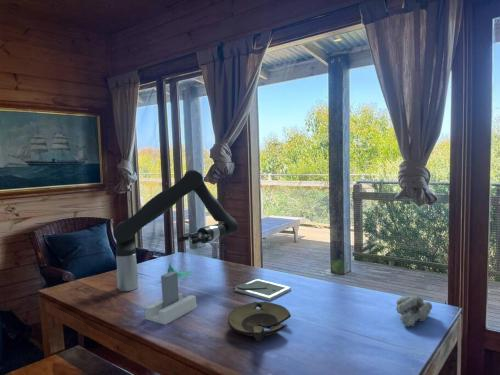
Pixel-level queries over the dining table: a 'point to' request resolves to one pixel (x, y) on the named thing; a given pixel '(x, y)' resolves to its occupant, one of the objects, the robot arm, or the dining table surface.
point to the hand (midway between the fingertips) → (185, 241)
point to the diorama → (179, 274)
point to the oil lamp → (258, 319)
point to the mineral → (412, 309)
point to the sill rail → (170, 309)
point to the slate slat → (169, 288)
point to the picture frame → (263, 289)
